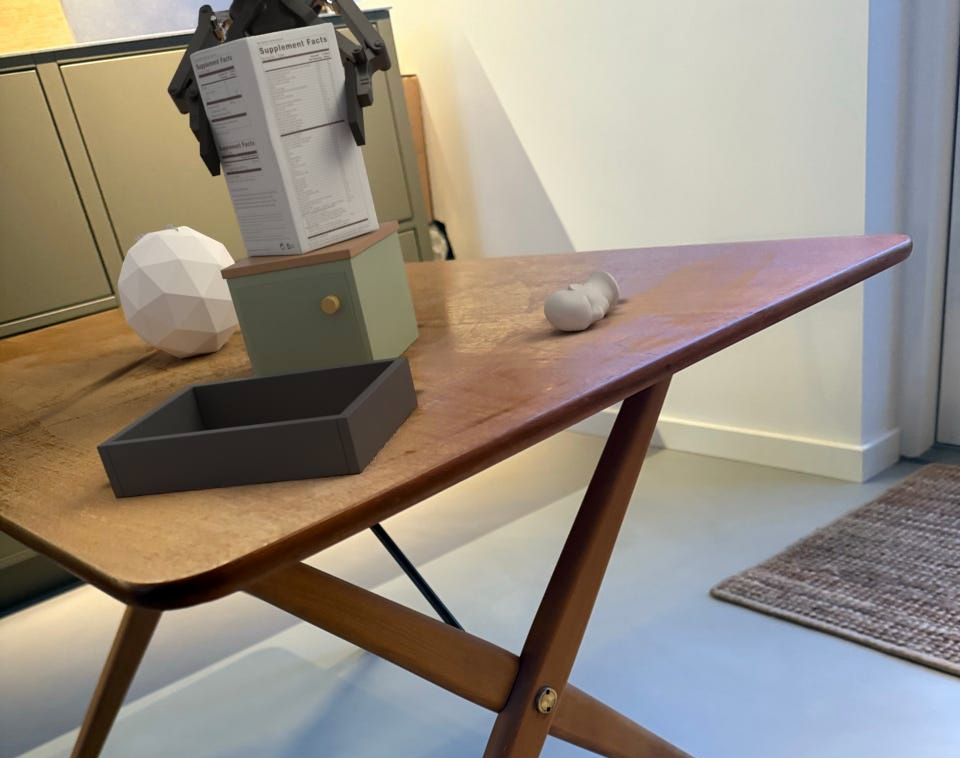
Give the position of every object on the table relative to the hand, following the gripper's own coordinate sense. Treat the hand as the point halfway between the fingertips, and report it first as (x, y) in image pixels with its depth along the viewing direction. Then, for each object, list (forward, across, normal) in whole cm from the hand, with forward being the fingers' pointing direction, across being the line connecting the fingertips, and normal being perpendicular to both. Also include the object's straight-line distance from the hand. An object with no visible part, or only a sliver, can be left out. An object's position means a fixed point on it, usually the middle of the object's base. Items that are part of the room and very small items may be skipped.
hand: (283, 150), depth 89 cm
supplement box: (+4, 0, -8) cm, 9 cm away
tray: (+29, +1, +2) cm, 30 cm away
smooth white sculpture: (+13, -24, -14) cm, 31 cm away
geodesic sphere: (-1, +20, -28) cm, 35 cm away
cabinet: (+12, 0, -15) cm, 19 cm away
